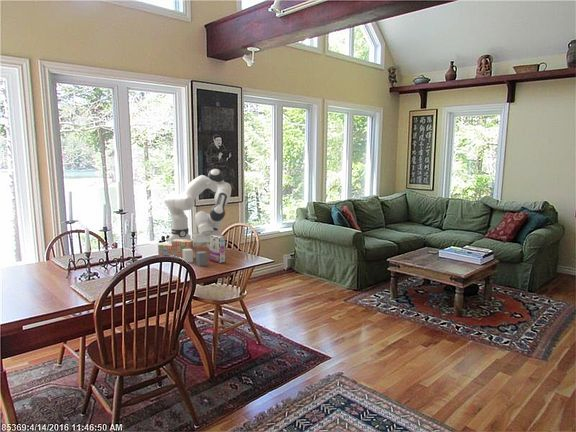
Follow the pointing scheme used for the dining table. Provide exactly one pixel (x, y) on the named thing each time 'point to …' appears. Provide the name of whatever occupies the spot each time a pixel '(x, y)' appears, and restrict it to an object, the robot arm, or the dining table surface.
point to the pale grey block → (187, 255)
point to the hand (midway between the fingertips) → (211, 249)
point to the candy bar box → (217, 248)
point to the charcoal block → (201, 258)
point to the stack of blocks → (175, 247)
